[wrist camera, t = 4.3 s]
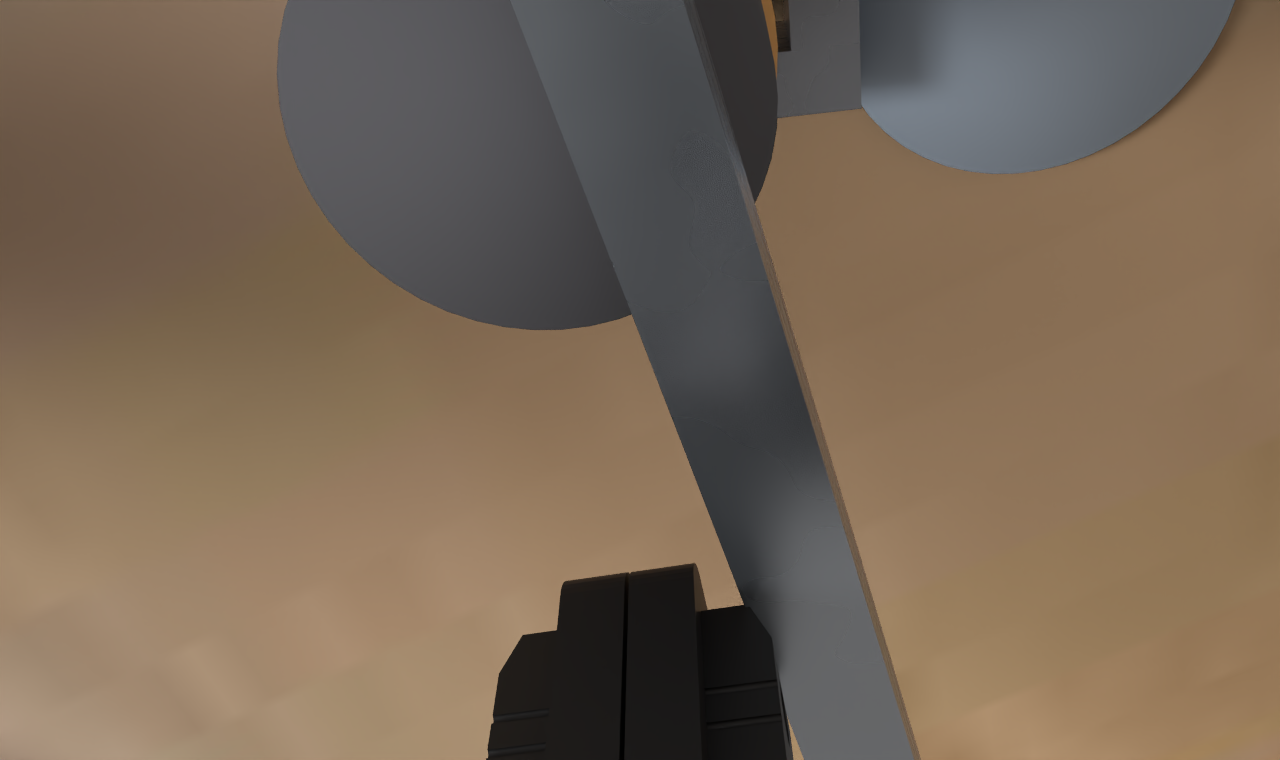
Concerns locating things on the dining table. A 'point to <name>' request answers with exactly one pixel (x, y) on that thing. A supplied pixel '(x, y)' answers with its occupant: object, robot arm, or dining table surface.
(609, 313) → the plug
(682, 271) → the gray square bar
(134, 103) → the dining table surface
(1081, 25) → the mat
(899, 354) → the dining table surface
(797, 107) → the socket
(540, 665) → the robot arm
